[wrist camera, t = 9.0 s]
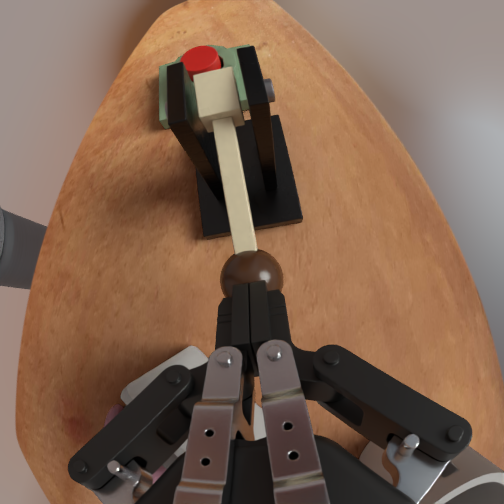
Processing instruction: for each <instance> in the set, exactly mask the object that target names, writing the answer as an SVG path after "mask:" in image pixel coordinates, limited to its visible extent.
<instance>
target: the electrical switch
mask: <svg viewBox="0 0 504 504" xmlns="http://www.w3.org/2000/svg"><path fill="white" fill-rule="evenodd" d="M207 361H208V358H207V357H206V356H205V355H204V354H203V353H202V352H201V351H200V350H199V349H198V348H197V347H194V346H189V347H187V348H185V349H184V350H182V351H181V352H179V353H177V354H176V355H174V356H173V357H171V358H170V359H168V360H166V361H165V362H163V363H162V364H160V365H159V366H157V367H155V368H154V369H152V370H151V371H149V372H147V373H146V374H144V375H142V376H141V377H139V378H138V379H136V380H134V381H133V382H131V383H129V384H128V385H127V386H126V387H125V388H124V389H123V391H122V393H121V397H120V398H121V399H122V400H123V402H124V403H125V404H126V406H127V405H128V404H129V403H130V402H131V401H132V400H133V399H134V398H135V397H136V396H137V395H139V394H140V393H141V392H142V391H143V390H144V389H145V388H146V387H147V386H148V385H149V384H150V383H151V382H152V381H153V380H154V379H155V378H156V377H157V376H158V375H159V374H160V373H161V372H162V371H163V370H165V369H166V368H167V367H169V366H172V365H183V366H185V367H187V368H188V369H189V370H190V369H192V368H195V367H198V366H200V365H203V364H204V363H206V362H207ZM126 406H125V407H126ZM254 436H255V440H258V439H261V438H264V437H266V431H265V424H264V417H263V410H262V408H260V407H259V406H258V405H257V404H256V403H255V409H254ZM187 440H188V439H187ZM187 440H186V441H185V442H184V443H183V444H182V445H181V446H180V447H179V448H178V450H177V451H176V452H175V453H174V454H173V455H172V456H171V457H170V458H169V459H168V460H167V461H166V462H165V463H164V464H163V465H162V466H164V467H165V468H166V469H168V468H169V466H170V465H171V464H172V463H173V462H174V461H175V460H176V459H177V458H178V457H179V456H180V455H181V454H182V453H184V452H185V451H186V446H187Z"/></svg>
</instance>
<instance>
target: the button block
mask: <svg viewBox="0 0 504 504" xmlns="http://www.w3.org/2000/svg"><path fill="white" fill-rule="evenodd" d="M206 46H210V47H213V48H214V49H216V51H217V52H218V56H219V59H220V62H221V69H222V68H226V67H233V71H234V75H235V79H236V83H237V87H238V91H239V96H240V101H241V106H242V111H244V110H249V106H248V102H247V97H246V92H245V87H244V83H243V78H242V73H241V69H240V64H239V60H238V55H237V51H236V49H237V48H242V47H248V46H250V45H243V46H238V47H232V48H228V49H226V48H225V47H223V46H214V45H206ZM183 55H184V54H183ZM183 55H182V56H183ZM182 56H180V57H178V59H177V60H176V61H175V62H172V63H168V64H165V65H162V66H159V121H160V122H161V124H162V125H163V127H164V128H165V129H168V128H170V127H169V125H168V119H167V117H166V113H165V102H167V66H169V65H172V64H175V63H179V62H180V60H181V57H182ZM192 83H193V86H194V82H192Z"/></svg>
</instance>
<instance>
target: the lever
mask: <svg viewBox="0 0 504 504" xmlns="http://www.w3.org/2000/svg"><path fill="white" fill-rule="evenodd" d="M193 81H194V88H195V95H196V102H197V109H198V116H199V118H200V120H201V122H202V123H203V125H204V127H205V128H206V130H207V131H208V132H214V137H215V143H216V149H217V155H218V161H219V167H220V173H221V178H222V184H223V190H224V196H225V201H226V207H227V213H228V219H229V224H230V230H231V235H232V241H233V246H234V252H235V254H233V255H232V256H231V257H230V258H229V259H228V260H227V261H226V263H225V264H224V266H223V268H222V271H221V276H220V284H221V289H222V292H223V294H224V296H225V298H227V297H232V290H233V285H238V284H244V283H249V285H250V282H256V281H262V280H266V284H267V289H268V291H270V290H276V289H279V290H280V292H281V291H282V287H283V273H282V269H281V267H280V265H279V263H278V262H277V260H276V259H275V258H274V257H273V256H272V255H270V254H269V253H267V252H265V251H263V250H259V249H258V248H257V242H256V237H255V231H254V226H253V221H252V215H251V210H250V204H249V199H248V193H247V188H246V183H245V177H244V172H243V166H242V161H241V156H240V150H239V145H238V140H237V134H236V129H235V127H237V126H242V125H245V121H244V116H243V111H242V106H241V101H240V96H239V91H238V87H237V83H236V79H235V75H234V71H233V67H226V68H222V69H217V70H213V71H208V72H204V73H200V74H196V75H193Z"/></svg>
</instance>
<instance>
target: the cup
mask: <svg viewBox="0 0 504 504" xmlns="http://www.w3.org/2000/svg"><path fill="white" fill-rule="evenodd" d="M383 452H384V450H383V449H382V448H380V447H379V446H377V445H376V444H374V443H373V442H371V441H370V442H369V443H368V444H367V446H366V447H365V449H364V450H363V452H362V454H361V455H360V458H359V460H360V461H361V462H362V463H363V464H365V465H366V466H367V467H369V468H370V469H371V470H373V471H374V472H375V473H377V474H378V475H379V476H381V477H382V478H384V479H385V480H386V481H388V482H389V483H390V484H392V485H393V479H392V477H391V475H390V473H389V472H387V471H386V470H385V468H384V467H383V465H382V455H383ZM419 504H504V471H503V470H501V469H500V468H499V467H497V466H496V465H494V464H493V463H492V462H490V461H489V460H488V459H486V458H485V457H483V456H482V455H481V454H479V453H478V452H477V451H475V450H474V449H472V448H471V447H470V446H467V447H466V448H465V449H464V450H463V451H462V452H461V453H460V454H459V455H458V456H456V457H455V458H454V459H453V460H452V461H451V462H449V463H448V464H447V466H446V467H445V469H444V470H443V472H442V473H441V474H440V476H439V477H438V479H437V480H436V481H435V483H434V484H433V486H432V487H431V488H430V490H429V491H428V492H427V493H426V495H425V496H424V497H423V499H422V500H421V501H420V502H419Z"/></svg>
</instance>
